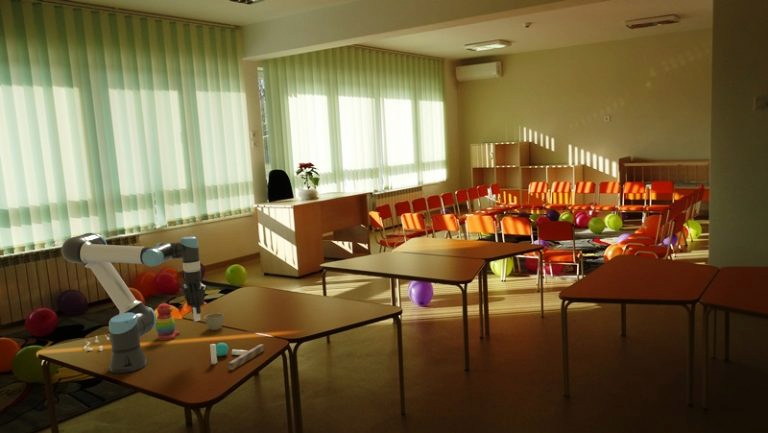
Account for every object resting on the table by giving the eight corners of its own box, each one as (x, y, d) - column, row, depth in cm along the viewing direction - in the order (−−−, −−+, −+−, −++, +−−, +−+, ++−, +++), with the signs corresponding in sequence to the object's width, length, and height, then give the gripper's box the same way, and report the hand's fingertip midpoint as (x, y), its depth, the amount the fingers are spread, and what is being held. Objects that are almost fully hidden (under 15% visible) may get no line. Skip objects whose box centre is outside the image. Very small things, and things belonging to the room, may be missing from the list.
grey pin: (215, 364, 257) (213, 345, 256) (210, 364, 258) (208, 345, 257) (218, 362, 259) (216, 344, 258) (214, 362, 260) (212, 343, 259)
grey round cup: (204, 328, 313) (202, 315, 312) (223, 324, 317) (221, 312, 316) (206, 333, 304) (205, 319, 303) (226, 329, 308) (225, 316, 307)
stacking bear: (173, 340, 296) (169, 306, 294) (153, 341, 296) (149, 307, 294) (181, 333, 306) (177, 300, 304) (162, 334, 307) (158, 301, 305)
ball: (221, 342, 264) (210, 345, 266) (224, 356, 264) (213, 358, 265) (229, 340, 270) (218, 342, 272) (232, 353, 269) (221, 355, 271)
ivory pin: (234, 348, 269) (249, 349, 266) (234, 353, 270) (250, 354, 267) (231, 350, 267) (246, 351, 264) (231, 355, 268) (247, 356, 264)
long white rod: (232, 370, 249) (232, 363, 249) (229, 369, 250) (228, 362, 249) (264, 350, 271) (263, 344, 271) (260, 350, 272) (259, 344, 271)
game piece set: (114, 336, 309) (113, 329, 308) (133, 343, 296) (132, 335, 296) (76, 348, 294) (75, 340, 294) (94, 355, 281) (93, 347, 281)
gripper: (209, 269, 267) (214, 318, 270) (186, 268, 272) (191, 317, 275) (198, 272, 261) (203, 323, 263) (175, 272, 265) (180, 322, 268)
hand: (197, 320), depth 269 cm, fingers closed
